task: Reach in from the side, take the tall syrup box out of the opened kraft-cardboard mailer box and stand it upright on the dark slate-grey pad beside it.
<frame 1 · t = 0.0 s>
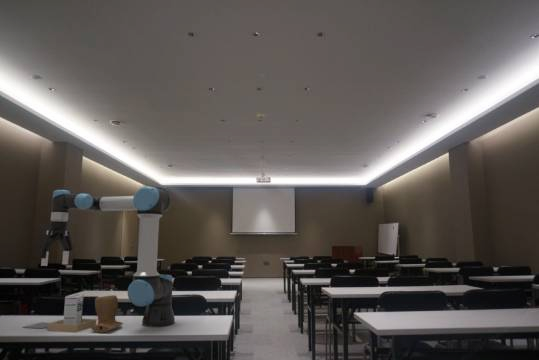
hand: (54, 265, 183), 28 cm above the table, tool pointing down, fingers open, 13 cm apart
syrup box: (71, 328, 172), resting in mailer box
slate pad: (42, 325, 177), on the table
mailer box: (72, 328, 172), on the table
stone cup: (105, 330, 169), on the table
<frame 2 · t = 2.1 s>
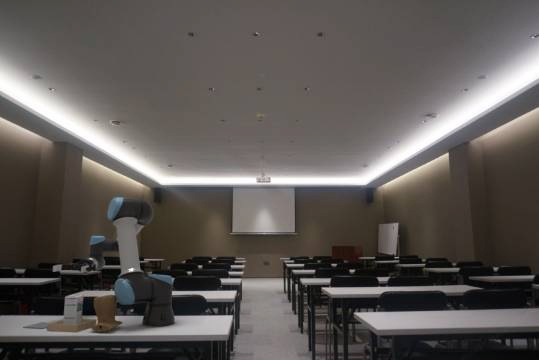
hand: (67, 269, 183), 26 cm above the table, tool horizontal, fingers open, 13 cm apart
stone cup: (105, 329, 169), on the table, touching arm
everything else where it was.
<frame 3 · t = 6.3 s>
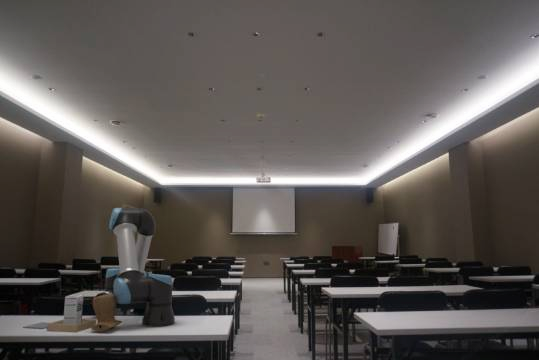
hand: (84, 305, 183), 9 cm above the table, tool horizontal, fingers open, 13 cm apart
nothing on the table moved.
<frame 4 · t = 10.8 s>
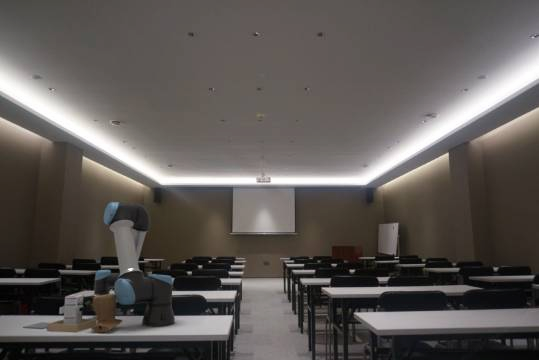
hand: (67, 310, 169), 9 cm above the table, tool horizontal, fingers closed on syrup box, 6 cm apart
syrup box: (71, 328, 172), resting in mailer box, touching gripper
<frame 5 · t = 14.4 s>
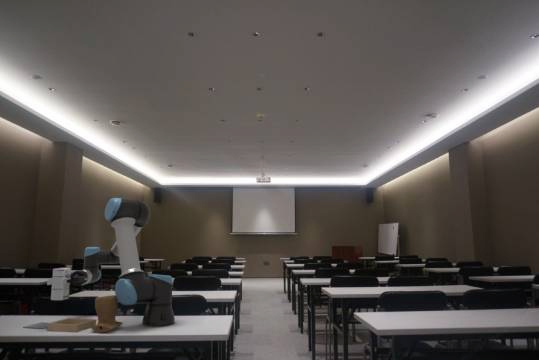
hand: (55, 281, 174), 21 cm above the table, tool horizontal, fingers closed on syrup box, 6 cm apart
syrup box: (59, 299, 178), point 12 cm above the table, touching gripper
stone cup: (105, 330, 169), on the table
when the fingers open (10 cm above the table, at t = 18.4 s): syrup box drops 1 cm, resting on slate pad.
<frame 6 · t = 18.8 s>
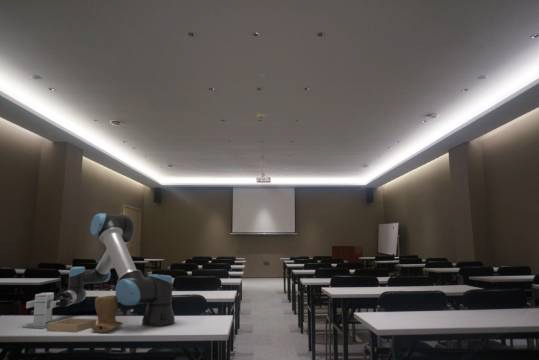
hand: (39, 305, 175), 10 cm above the table, tool horizontal, fingers open, 10 cm apart
syrup box: (42, 325, 177), resting on slate pad
everything else where it was.
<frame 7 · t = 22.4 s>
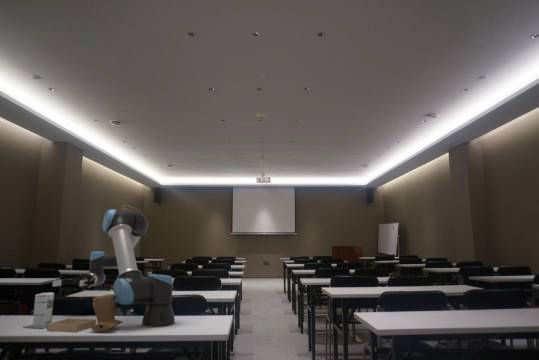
hand: (66, 283, 189), 18 cm above the table, tool horizontal, fingers open, 13 cm apart
stone cup: (105, 329, 169), on the table, touching arm
everything else where it was.
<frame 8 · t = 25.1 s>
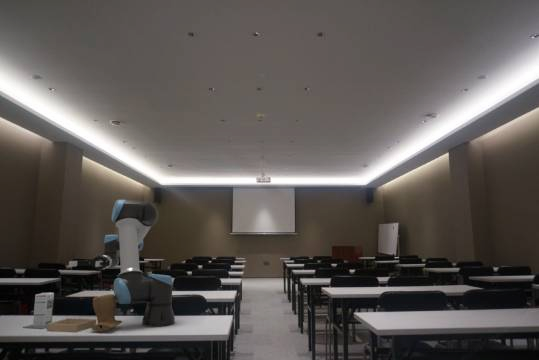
hand: (82, 264, 192), 28 cm above the table, tool horizontal, fingers open, 13 cm apart
nothing on the table moved.
at the end: syrup box inside the target area on the slate pad (0.2 cm from its centre), point 0.2 cm above the slate pad's base; syrup box tilted 0°; the gripper is holding nothing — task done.
